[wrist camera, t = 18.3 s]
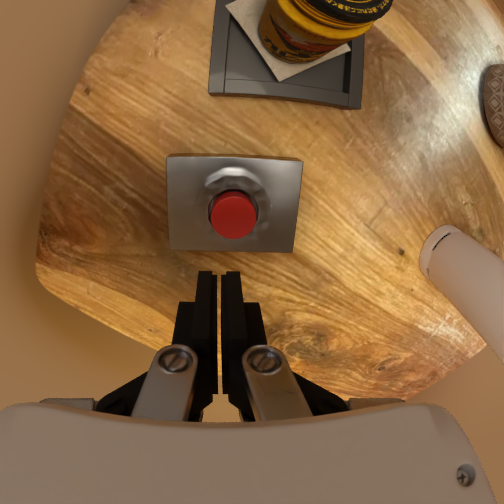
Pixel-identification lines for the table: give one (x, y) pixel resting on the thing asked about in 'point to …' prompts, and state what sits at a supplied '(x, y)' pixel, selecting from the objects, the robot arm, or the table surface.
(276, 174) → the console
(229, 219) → the button
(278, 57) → the condiment
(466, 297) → the bottle
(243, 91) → the tray
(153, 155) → the table surface
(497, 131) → the planter
